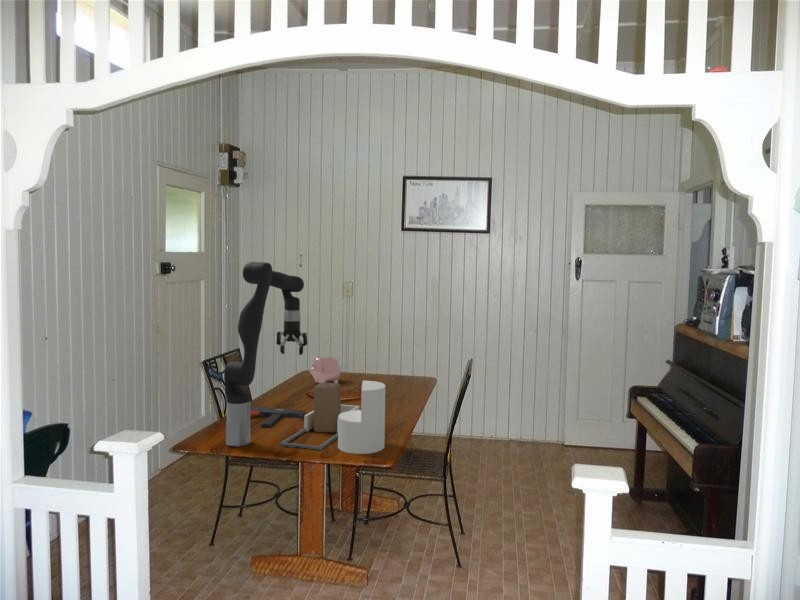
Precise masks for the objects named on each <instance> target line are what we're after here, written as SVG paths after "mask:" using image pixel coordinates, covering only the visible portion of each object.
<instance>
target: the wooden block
mask: <svg viewBox="0 0 800 600" xmlns="http://www.w3.org/2000/svg"><path fill="white" fill-rule="evenodd" d="M341 387H342V386H341V383H339V382H338V383H332V382H330V383H317V384H316V385H315V386H314V388H313V394H314V395H313V397H314V398H313V410H314V428H313V431H314V432H315V433H328V432H329V433H331V434H332V433H333V434H336V433H337V419H338V416H339V414H340V411H341V402H342V401H341V399H342V396H341V395H342V394H341V392H342V391H341V389H342V388H341Z"/></svg>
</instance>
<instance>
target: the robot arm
mask: <svg viewBox="0 0 800 600" xmlns="http://www.w3.org/2000/svg"><path fill="white" fill-rule="evenodd" d="M242 277H243V280H244V281H245V282H246V283H248V284H252V285H256V288H255V291H254V293H253V295H252V297H251V298H250V299H249V301H248V302H247V303H246V304H245V305H244V307H243V308H242V310H241V311H240V312H239V313H240V314H239V319H238V323H237V330H238V331H237V332H238V336H239V338H240V340H241V343H242V347H243V360H242V361H236V360H235V361H234V360H232V361H228V363H226V365H225V368H224V373H223V381H224V395H225V397H226V422H225V446H231V447H239V448H240V447H243V446H247V445H249V444H251V419H250V410H251V394H250V393H249V392H247V391H245V390H244V389H243V388H242V387H241V386H250V385H251V384H252V382H253V381H254V377H255V375H256V366H257V355H258V354H257V353H258V345H259V339H260V335H261V330H262V326H263V320H264V312H265V305H266V302H267V298H268V294H269V290H270V287H273V288H276V289H280V290H281V293H282V297H283V302H284V305H283V306H284V307H283V308H284V309H283V310H284V312H283V331H277V332H276V340H275V341H276V345H277V346H279V347H280V352H279V353H281V355H285V351H286V349H285V348H286V347H285V344H286V343H287V342H293V343H294V342H295V343H296V344H298V346H299V347H298V351H299V352H298V355H299V356H301V355H303V354H304V347H305V346H307V345H308V333H307V332H301V311H300V310H301V307H300V306H301V303H300V302H301V300H300V298H299V297H296V296H294V295H293V294H292V293H300V292H302V291H303V289H304V286H305V282H304V280H303V278H301V277H300V276H296V275H290V274H285V273H284V272H281V271H274V270H273V267H272V264H271V263H269V262H262V261H249V262H247V263H246V264H245V265H244V266H243V269H242ZM282 336H283V337H284V339H282ZM300 337H302V340H301V338H300Z"/></svg>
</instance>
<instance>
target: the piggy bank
mask: <svg viewBox="0 0 800 600" xmlns="http://www.w3.org/2000/svg"><path fill="white" fill-rule="evenodd" d="M339 359H340V358H339V357H337V360H336V359H335V358H334V357H329V356H328V357H320V356H318V355H316V356H315V361H314V363H313V364H312V365H311V367H309V373H310V374H311V375H312V377H313V379H314V383H316V384H319V383H339V381H338V380H339V377H340V374H341V365H340V364H339V363H340V362H339Z"/></svg>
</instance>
